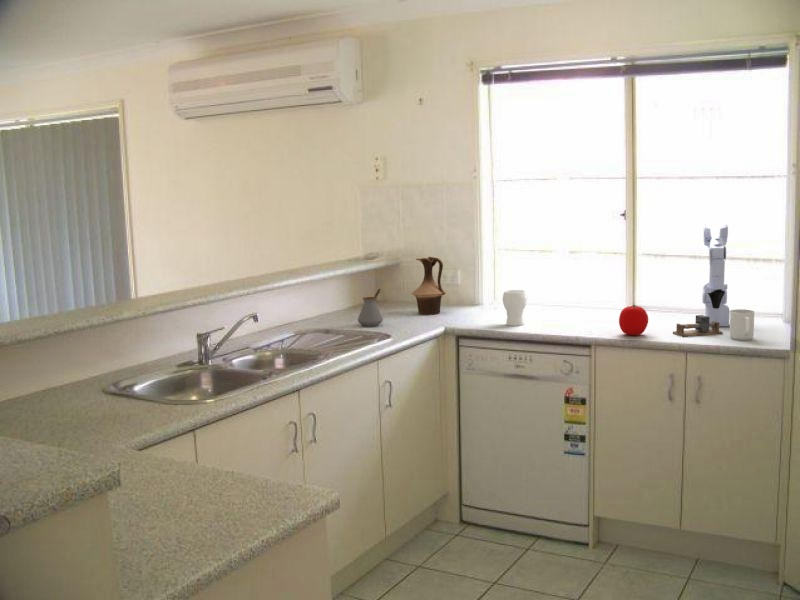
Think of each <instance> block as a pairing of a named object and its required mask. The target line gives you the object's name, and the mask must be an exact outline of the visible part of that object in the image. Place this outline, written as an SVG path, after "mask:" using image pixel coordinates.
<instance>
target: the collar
mask: <svg viewBox="0 0 800 600" xmlns="http://www.w3.org/2000/svg"><path fill="white" fill-rule="evenodd" d="M709 318H710V317H708V316H705V315H704V314H696V315H695V324H697V323H701V328H694V330H698V331H701V332H709V329H710V327H709Z"/></svg>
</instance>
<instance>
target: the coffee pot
mask: <svg viewBox="0 0 800 600" xmlns="http://www.w3.org/2000/svg"><path fill="white" fill-rule="evenodd" d="M381 293H382V289H381V288H378V289H377V291H376V292H375V294H374V296H367V297H366V296H365V297H362V300H363V304H362V307H361V309H360V312H359V315H358V317H357V322H358V323H359V325H361V327H365V328H374V327H378V326H379V325H380V324H382V322H383V320H384V318H383V315H382V314H381V311H380V309H379V308H378V306H377V303H376V301H377V298H378V296H379V294H381Z"/></svg>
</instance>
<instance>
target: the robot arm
mask: <svg viewBox="0 0 800 600" xmlns="http://www.w3.org/2000/svg"><path fill="white" fill-rule="evenodd" d="M728 235H729V226H728V224H726V223H725V224H704V225H703V243H704V246H706V247H708V259H709V262H708V263H709V282H707V283H706V284H704V285H703V287H702V300H701V301H702V304H704V305H705V309H704V312H705V313H704V314H705V315H704V316H708V317H710V318H709V323H711V322H712V321H715V322H719V327H730V311H731V310H730V307H729V306H728V305H727V302H728V291H727V290H728V284H726V283H725V271H726V270H725V265H726V264H725V263H726V259H727V247H726V245H727V243H728Z"/></svg>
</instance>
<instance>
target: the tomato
mask: <svg viewBox="0 0 800 600" xmlns="http://www.w3.org/2000/svg"><path fill="white" fill-rule="evenodd" d="M648 324H649V315H648V313H647V310H645V309H644V308H643V307H641V306H638V305H635V304H632V305H628V306H627V307H624V308H623V309H621V311H620V313H619V317H618V325H619V328H620V330H621V331H622V333H623V334H626V335H628V336H640V335H642V334H643V333H644V332H645V331H646V329H647V327H648Z"/></svg>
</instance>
